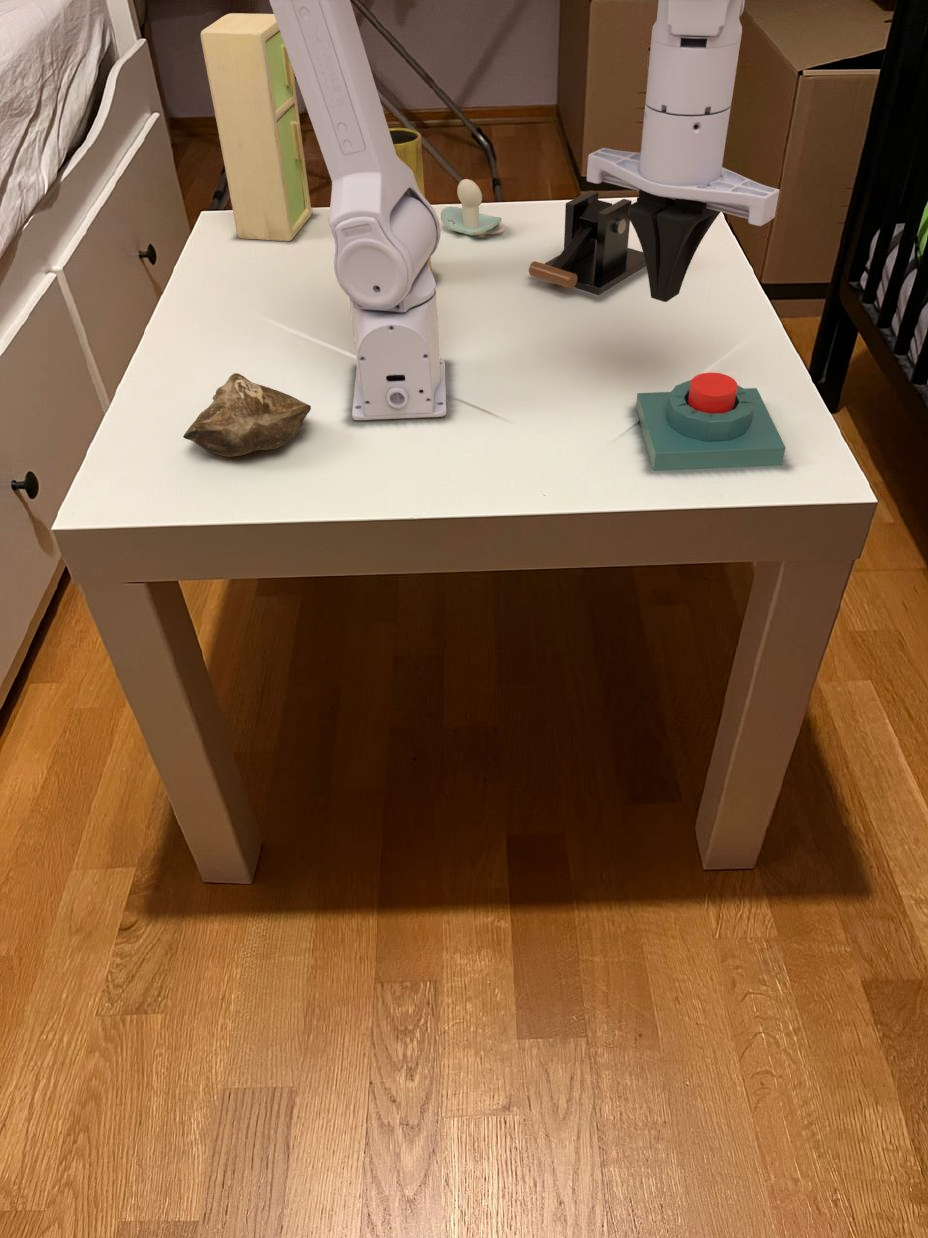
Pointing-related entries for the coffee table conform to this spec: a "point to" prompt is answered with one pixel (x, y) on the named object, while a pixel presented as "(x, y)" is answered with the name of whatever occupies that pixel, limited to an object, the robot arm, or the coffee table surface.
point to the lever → (571, 249)
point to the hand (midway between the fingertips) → (664, 295)
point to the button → (712, 393)
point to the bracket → (601, 246)
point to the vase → (410, 154)
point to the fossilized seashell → (247, 419)
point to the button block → (707, 432)
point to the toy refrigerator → (258, 125)
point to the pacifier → (470, 213)
